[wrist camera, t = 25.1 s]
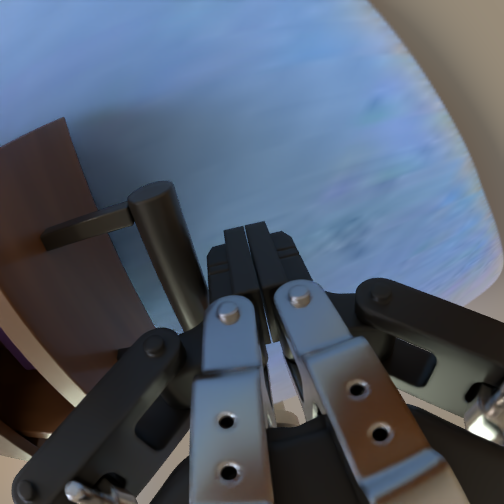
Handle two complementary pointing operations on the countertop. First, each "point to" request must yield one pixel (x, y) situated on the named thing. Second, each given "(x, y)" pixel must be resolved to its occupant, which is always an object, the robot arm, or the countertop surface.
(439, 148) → the countertop surface
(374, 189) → the countertop surface
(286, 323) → the robot arm
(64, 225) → the drawer
